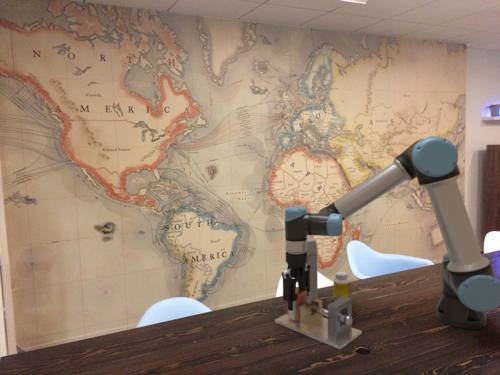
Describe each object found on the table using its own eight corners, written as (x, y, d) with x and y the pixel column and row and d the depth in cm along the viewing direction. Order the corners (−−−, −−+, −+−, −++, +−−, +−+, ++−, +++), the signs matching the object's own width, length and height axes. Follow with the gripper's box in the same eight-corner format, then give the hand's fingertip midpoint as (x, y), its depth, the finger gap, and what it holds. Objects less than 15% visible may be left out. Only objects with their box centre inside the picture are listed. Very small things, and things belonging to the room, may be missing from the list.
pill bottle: (351, 303, 138) (351, 275, 137) (335, 303, 138) (335, 276, 137) (347, 297, 144) (347, 270, 143) (332, 297, 144) (332, 271, 144)
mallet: (356, 332, 111) (356, 304, 110) (347, 338, 108) (347, 310, 107) (295, 310, 128) (295, 286, 127) (287, 315, 125) (286, 290, 124)
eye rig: (361, 333, 114) (361, 299, 113) (340, 349, 105) (340, 312, 104) (297, 310, 133) (297, 280, 132) (274, 322, 124) (274, 290, 123)
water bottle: (317, 297, 145) (316, 237, 143) (318, 305, 137) (318, 242, 135) (294, 297, 146) (293, 237, 144) (295, 304, 138) (294, 242, 136)
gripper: (303, 244, 132) (304, 305, 134) (270, 254, 119) (272, 321, 121) (320, 248, 126) (320, 310, 128) (288, 258, 114) (289, 328, 116)
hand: (297, 315), depth 125 cm, fingers closed on mallet, 5 cm apart
